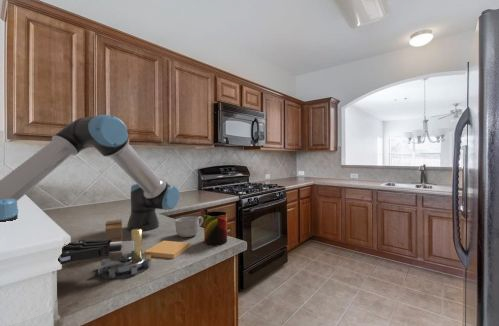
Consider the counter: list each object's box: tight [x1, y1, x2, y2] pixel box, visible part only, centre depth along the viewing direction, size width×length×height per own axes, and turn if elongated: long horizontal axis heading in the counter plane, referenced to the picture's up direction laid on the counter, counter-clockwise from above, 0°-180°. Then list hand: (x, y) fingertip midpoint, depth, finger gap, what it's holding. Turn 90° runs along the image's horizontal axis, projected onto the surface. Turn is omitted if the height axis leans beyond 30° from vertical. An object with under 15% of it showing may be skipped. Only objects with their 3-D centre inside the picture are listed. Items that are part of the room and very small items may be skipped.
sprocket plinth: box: [99, 265, 151, 280], centre depth 75 cm, size 14×14×1 cm
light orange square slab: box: [143, 240, 191, 259], centre depth 90 cm, size 12×12×2 cm
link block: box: [105, 219, 123, 258], centre depth 87 cm, size 5×5×12 cm
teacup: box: [174, 215, 204, 238], centre depth 110 cm, size 14×11×8 cm
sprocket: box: [97, 229, 152, 277], centre depth 75 cm, size 15×15×12 cm
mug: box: [203, 210, 228, 247], centre depth 102 cm, size 10×14×12 cm
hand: (134, 245), depth 72 cm, fingers closed
